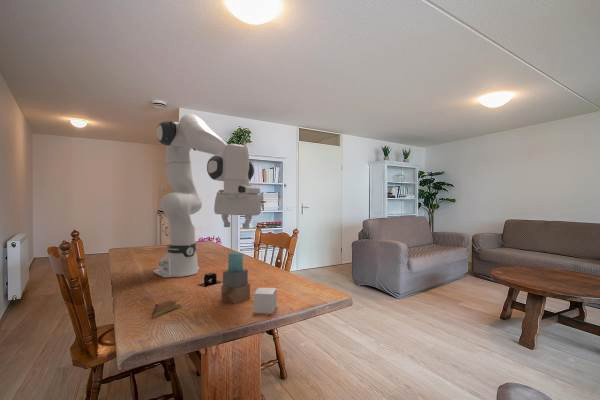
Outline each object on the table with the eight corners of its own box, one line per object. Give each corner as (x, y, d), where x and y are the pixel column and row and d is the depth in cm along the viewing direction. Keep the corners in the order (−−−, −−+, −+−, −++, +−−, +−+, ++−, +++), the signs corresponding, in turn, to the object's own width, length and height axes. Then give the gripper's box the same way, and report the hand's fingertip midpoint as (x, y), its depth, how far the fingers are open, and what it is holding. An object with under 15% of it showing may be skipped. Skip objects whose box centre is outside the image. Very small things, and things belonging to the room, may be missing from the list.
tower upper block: (223, 285, 96) (223, 271, 96) (234, 281, 101) (234, 267, 101) (235, 288, 93) (236, 273, 93) (247, 283, 98) (247, 269, 98)
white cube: (276, 306, 90) (276, 288, 90) (272, 314, 84) (272, 294, 84) (258, 305, 90) (258, 287, 90) (253, 313, 84) (253, 293, 84)
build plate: (217, 279, 123) (217, 269, 123) (227, 282, 119) (227, 272, 119) (192, 286, 113) (192, 275, 113) (203, 290, 108) (203, 278, 109)
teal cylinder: (225, 271, 96) (225, 254, 96) (235, 268, 100) (235, 252, 101) (235, 273, 94) (235, 255, 94) (245, 270, 98) (245, 253, 98)
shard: (151, 320, 80) (151, 314, 80) (135, 315, 83) (135, 309, 84) (182, 308, 90) (182, 302, 90) (167, 304, 93) (167, 298, 93)
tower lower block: (221, 300, 96) (221, 285, 96) (235, 294, 102) (235, 280, 102) (235, 303, 92) (235, 288, 92) (250, 297, 98) (250, 283, 98)
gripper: (210, 189, 101) (209, 226, 101) (251, 187, 90) (250, 230, 90) (223, 190, 106) (223, 225, 106) (263, 188, 95) (263, 228, 95)
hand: (236, 227), depth 98 cm, fingers open, 8 cm apart
